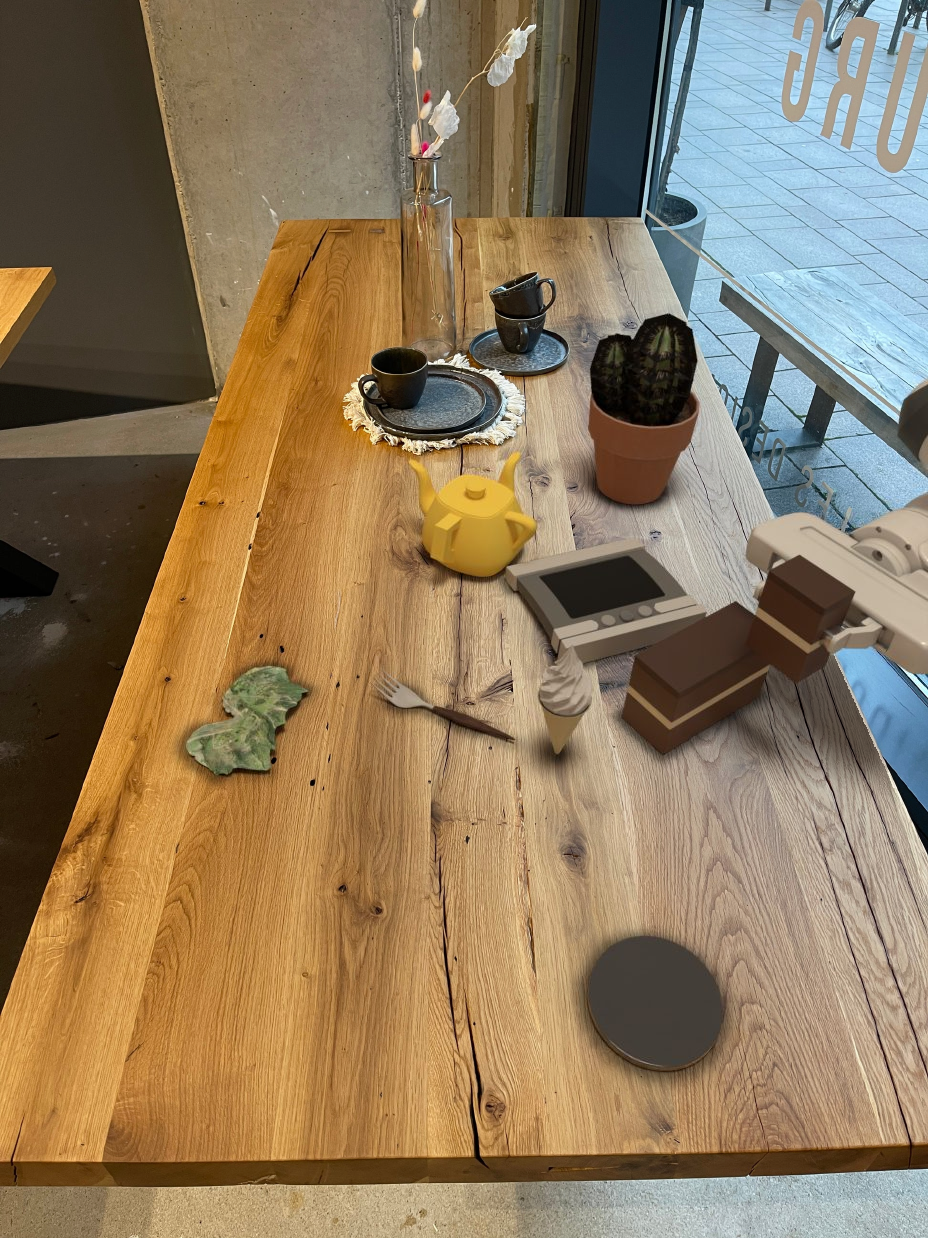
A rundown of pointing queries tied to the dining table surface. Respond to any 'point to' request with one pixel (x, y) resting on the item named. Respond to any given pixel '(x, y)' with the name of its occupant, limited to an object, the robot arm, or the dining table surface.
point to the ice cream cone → (565, 697)
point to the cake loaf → (694, 678)
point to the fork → (432, 707)
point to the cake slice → (797, 617)
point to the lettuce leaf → (247, 722)
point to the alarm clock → (604, 599)
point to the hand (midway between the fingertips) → (792, 619)
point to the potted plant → (642, 407)
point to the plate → (655, 1003)
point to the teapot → (473, 521)
